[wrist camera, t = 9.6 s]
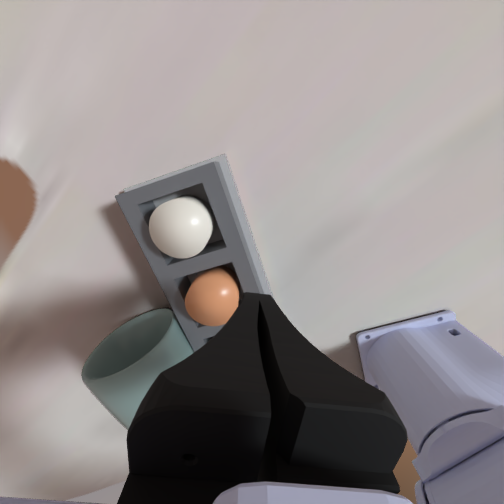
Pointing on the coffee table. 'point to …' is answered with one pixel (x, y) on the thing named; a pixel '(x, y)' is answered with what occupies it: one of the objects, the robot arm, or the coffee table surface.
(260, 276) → the gray compartment tray
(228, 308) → the orange egg
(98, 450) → the coffee table surface
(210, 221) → the white egg
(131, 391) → the cup
